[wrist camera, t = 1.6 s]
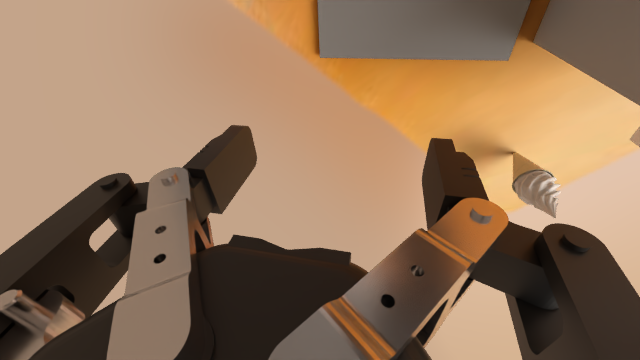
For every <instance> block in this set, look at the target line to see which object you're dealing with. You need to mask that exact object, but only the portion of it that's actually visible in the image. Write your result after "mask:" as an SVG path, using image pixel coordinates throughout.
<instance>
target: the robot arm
mask: <svg viewBox="0 0 640 360" xmlns="http://www.w3.org/2000/svg"><path fill="white" fill-rule="evenodd" d="M256 161H257V155H256V150H255V146H254V142H253V138H252V133H251V130H250V128H249V127H248V126H239V125H231V126H230V127H229V128H228V129H227V130H226V131H225V132H224V133H223V134H222V135H220V136H218V137H216V138H214V139H213V140H211V141H210V142H209V143H208V144H207V145H206V146H205V147H204V148H203V149H202V150H200V152H199V153H197V154H196V155H195V156H194V157H193V158H192V159H191V160H190V161H189V162H188V163H187V164H186V165H185V166H183V167H182V168H180V167H175V168H169V169H166V170H163V171H161V172H159V173H157V174H156V175H154V176H153V177H152V178H151V180H150V181H149V182H145V183H136V184H134V182H133V181H132V179H131V177H130V176H129V175H128V174H125V173H117V174H112V175H108V176H106V177H103V178H101V179H99V180H98V181H96V182H95V183H93V184H92V185H91V186H89V187H88V188H87V189H85V190H84V191H83V192H81V193H80V194H79V195H78V196H77V197H75V198H74V199H72V200H71V201H70V202H68V203H67V204H66V205H65V206H63V207H62V208H61V209H59V210H58V211H57V212H55V213H54V214H53V215H52V216H50V217H49V218H48V219H46V220H45V221H44V222H42V223H41V224H40V225H39V226H37V227H36V228H35V229H33V230H32V231H31V232H29V233H28V234H27V235H26V236H24V237H23V238H22V239H20V240H19V241H18V242H16V243H15V244H14V245H13V246H11V247H10V248H9V249H8V250H6V251H5V252H3V253H2V254H1V255H0V360H432V359H431V358H430V356H429V355H428V354H427V352H426V350H425V349H424V348H425V347H426V345H427V344H428V343H429V341H430V340H431V339H432V338H433V336H434V335H435V334H436V332H437V331H438V329H439V328H440V326H441V325H442V323H443V322H444V320H445V319H446V317H447V316H448V315H449V313H450V312H451V311H452V310H453V308H454V307H455V306H456V304H457V303H458V302H459V301H460V299H461V298H462V297H463V296H464V294H465V293H466V291H467V290H468V289H469V288H470V287H471V285H472V284H473V283H474V282H475V280H476V281H478V282H481V283H483V284H486V285H488V286H490V287H493V288H495V289H497V290H500V291H502V292H504V293H505V295H506V298H507V302H508V306H509V310H510V313H511V317H512V321H513V325H514V329H515V333H516V336H517V340H518V344H519V348H520V351H521V355H522V359H523V360H640V297H639V295H638V294H637V293H636V291H635V289H634V288H633V286H632V285H631V284H630V282H629V281H628V279H627V277H626V276H625V274H624V273H623V271H622V270H621V268H620V267H619V265H618V264H617V262H616V261H615V259H614V258H613V256H612V255H611V253H610V252H609V250H608V249H607V247H606V246H605V245H604V244H603V243H602V242H601V241H600V240H599V239H597V238H596V237H595V236H593V235H592V234H590V233H588V232H587V231H584V230H582V229H580V228H577V227H575V226H571V225H566V224H550V225H548V226H546V227H545V228H544V230H543V231H542V232H538V231H535V230H532V229H529V228H525V227H523V226H519V225H517V224H514V223H512V222H510V221H508V216H507V214H506V213H505V212H504V210H503V209H502V208H500V207H499V206H498V205H496V204H494V203H492V202H490V201H489V199H488V197H487V194H486V192H485V189H484V187H483V184H482V182H481V179H480V178H479V174H478V172H477V171H476V166H475V164H474V161H473V160H472V159H471V158H470V157H469V156H468V155H467V154H465V153H464V152H456V150H455V147H454V144H453V141H452V139H439V138H432V139H431V140H430V144H429V148H428V152H427V156H426V160H425V165H424V169H423V175H422V187H423V195H424V203H425V212H426V221H427V228H428V231H425V230H424V229H422V228H421V229H418V230H417V231H415V232H414V233H413V234H412V235H411V236H410V237H409V238H407V239H406V240H405V241H404V242H403V243H402V244H400V245H399V246H398V247H397V248H396V249H395V250H394V251H393V252H391V253H390V254H389V255H388V256H387V257H386V258H385V259H383V260H382V261H381V262H380V263H379V264H378V265H377V266H376V267H374V268H373V269H372V270H371V271H370V272H367V271H366V270H364V269H363V268H361V267H359V266H358V265H355V264H353V263H351V253H350V252H344V251H337V250H331V249H324V248H311V249H294V250H287V249H284V248H281V247H279V246H277V245H274V244H272V243H269V242H267V241H265V240H263V239H259V238H253V237H246V236H239V235H233V237H232V239H231V240H230V242H229V243H228V244H222V245H217V246H214V243H213V238H212V232H211V226H210V221H209V218H208V215H209V213H218V214H222V213H223V211H224V210H225V209H226V207H227V206H228V204H229V203H230V202H231V200H232V199H233V197H234V196H235V194H236V193H237V192H238V190H239V189H240V187H241V186H242V185H243V183H244V182H245V180H246V179H247V177H248V176H249V175H250V173H251V172H252V170H253V169H254V167H255V165H256ZM108 218H109V219H110V220H111V222H112V223H113V224H114V225H115V227H116V228H117V229H118V230H117V231H116V232H115V233H114V234H113V235H112V236H111V237H110V238H109V239H108V240H107V241H106V242H105V243H104V244H103V245H102V246H101V247H100V248H99V249H98V250H97V251H96V252H94V251H93V250H92V248H91V247H90V245H89V239H90V236H91V235H92V233H93V232H94V231H95V230H96V229H97V228H98V227H100V226H101V225H102V224H103V223H104V222H105V221H106V220H107V219H108ZM127 271H128V275H127V282H126V289H125V294H124V296H123V297H122V298H120V299H118V300H117V301H115V302H114V303H112V304H110V305H108V306H107V307H105V308H103V309H102V310H100V311H98V312H96V313H95V314H93V315H92V313H93V312H94V311H95V310H96V309H97V307H98V306H99V305H100V303H101V302H102V301H103V300H104V299H105V298H106V296H107V295H108V294H109V292H110V291H111V290H112V289H113V288H114V286H115V285H116V284H117V283H118V282H119V280H120V279H121V278H122V277H123V275H124V274H125V273H126V272H127Z"/></svg>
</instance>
